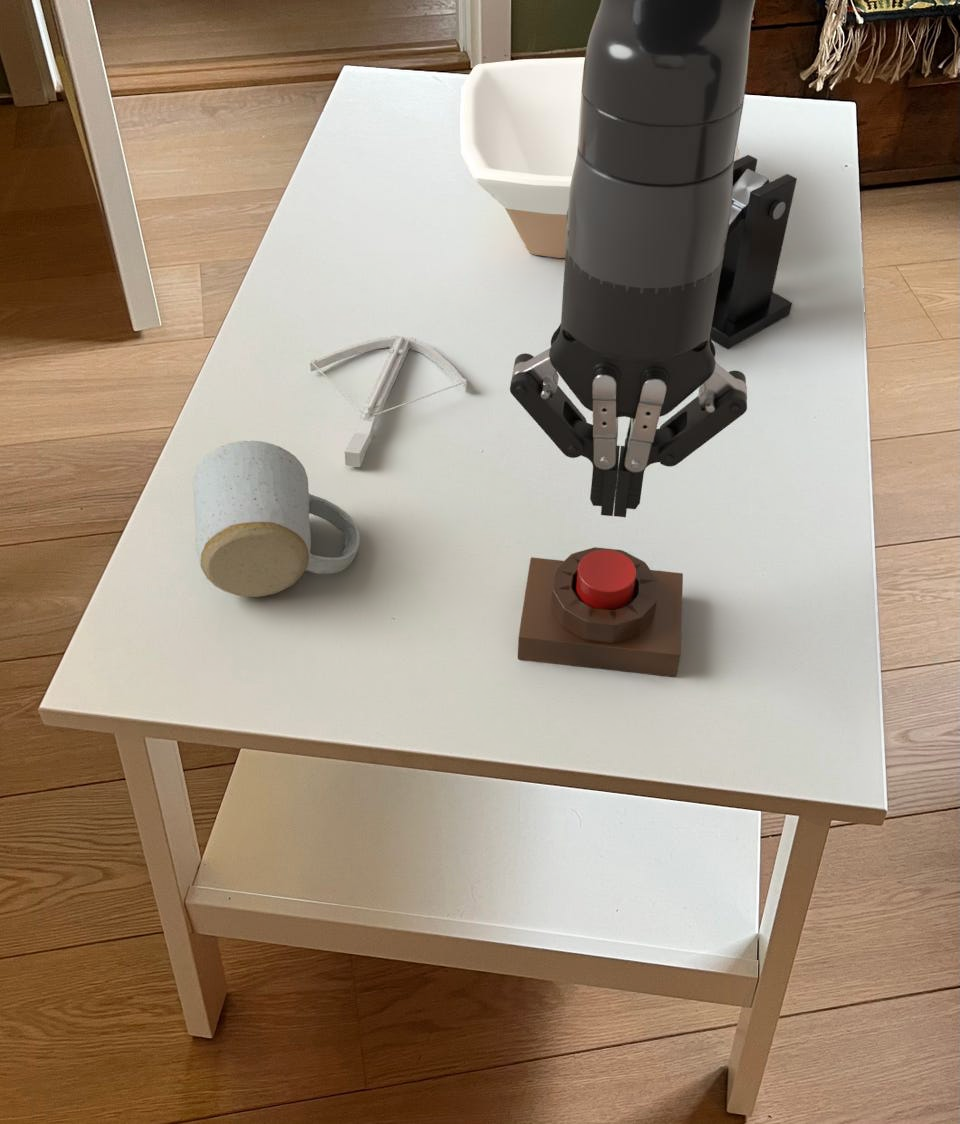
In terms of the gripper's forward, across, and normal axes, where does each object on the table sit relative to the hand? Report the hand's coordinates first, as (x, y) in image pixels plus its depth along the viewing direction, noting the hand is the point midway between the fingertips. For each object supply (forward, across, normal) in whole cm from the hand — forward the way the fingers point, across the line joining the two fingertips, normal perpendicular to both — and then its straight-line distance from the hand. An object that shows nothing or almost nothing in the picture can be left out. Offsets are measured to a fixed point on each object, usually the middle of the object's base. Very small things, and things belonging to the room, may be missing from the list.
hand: (614, 506), depth 69 cm
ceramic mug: (+11, -22, +4) cm, 25 cm away
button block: (+11, 0, 0) cm, 11 cm away
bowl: (+11, -4, +51) cm, 52 cm away
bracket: (+11, +9, +38) cm, 40 cm away
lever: (+4, +6, +35) cm, 36 cm away
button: (+7, 0, 0) cm, 7 cm away
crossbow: (+11, -18, +21) cm, 30 cm away
